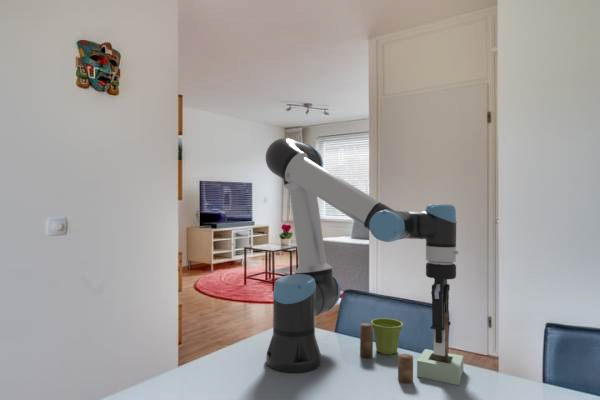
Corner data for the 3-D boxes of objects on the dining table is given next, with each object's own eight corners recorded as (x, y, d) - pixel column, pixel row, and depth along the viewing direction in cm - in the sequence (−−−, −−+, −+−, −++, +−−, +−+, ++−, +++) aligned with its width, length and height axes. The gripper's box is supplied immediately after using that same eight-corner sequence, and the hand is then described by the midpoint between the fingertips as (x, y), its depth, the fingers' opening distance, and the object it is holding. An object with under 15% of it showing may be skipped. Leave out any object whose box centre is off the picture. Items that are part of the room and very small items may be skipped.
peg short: (396, 381, 96) (396, 357, 96) (400, 376, 99) (400, 352, 99) (411, 384, 94) (411, 360, 94) (414, 379, 97) (414, 355, 98)
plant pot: (403, 358, 112) (403, 327, 112) (370, 355, 114) (370, 325, 114) (401, 347, 121) (401, 319, 121) (371, 344, 123) (371, 317, 123)
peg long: (432, 367, 100) (432, 313, 101) (434, 363, 104) (434, 310, 104) (446, 370, 99) (447, 315, 99) (449, 365, 102) (449, 312, 102)
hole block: (417, 376, 99) (417, 360, 99) (424, 363, 108) (424, 349, 108) (458, 385, 94) (458, 368, 94) (463, 370, 103) (463, 355, 103)
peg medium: (358, 356, 112) (358, 325, 113) (362, 353, 115) (362, 322, 116) (370, 359, 111) (370, 327, 111) (374, 355, 114) (374, 324, 114)
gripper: (451, 267, 93) (451, 365, 92) (459, 260, 108) (459, 345, 107) (419, 264, 97) (419, 359, 96) (431, 258, 111) (431, 340, 110)
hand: (440, 352), depth 101 cm, fingers closed on peg long, 3 cm apart
